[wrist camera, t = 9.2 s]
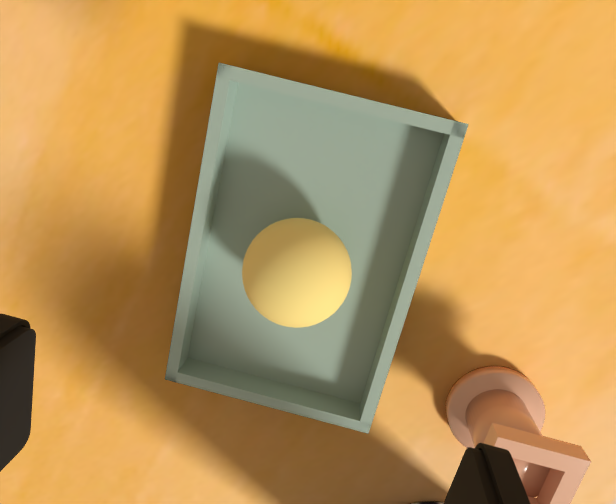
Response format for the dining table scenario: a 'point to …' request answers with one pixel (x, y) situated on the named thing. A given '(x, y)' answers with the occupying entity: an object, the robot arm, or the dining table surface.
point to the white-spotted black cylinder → (429, 503)
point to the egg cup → (515, 431)
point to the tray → (319, 207)
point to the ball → (296, 272)
